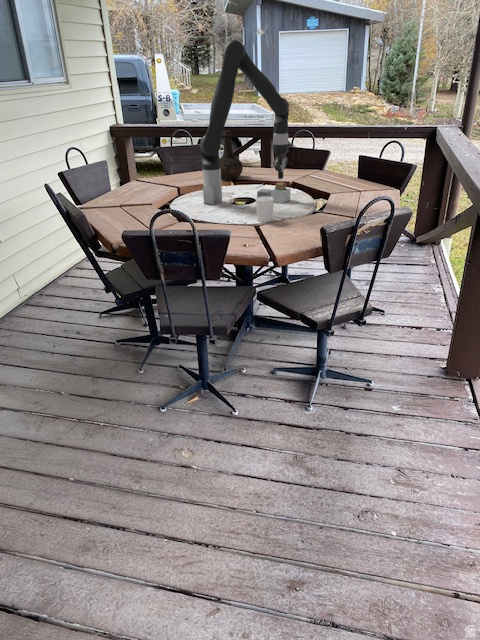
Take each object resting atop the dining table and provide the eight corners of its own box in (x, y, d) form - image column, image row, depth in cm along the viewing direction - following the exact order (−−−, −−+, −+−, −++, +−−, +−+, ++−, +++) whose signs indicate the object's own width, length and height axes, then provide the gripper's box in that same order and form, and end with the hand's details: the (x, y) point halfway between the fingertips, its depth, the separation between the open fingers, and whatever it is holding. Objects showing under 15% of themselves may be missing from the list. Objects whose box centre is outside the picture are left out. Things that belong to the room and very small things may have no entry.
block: (282, 202, 251) (282, 184, 246) (275, 201, 252) (275, 184, 248) (285, 200, 254) (285, 182, 249) (278, 199, 255) (278, 182, 251)
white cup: (252, 220, 225) (252, 199, 220) (264, 216, 229) (264, 195, 225) (265, 223, 220) (265, 201, 215) (276, 219, 224) (277, 198, 220)
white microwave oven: (283, 203, 248) (284, 191, 245) (270, 202, 252) (270, 189, 249) (290, 199, 254) (290, 187, 251) (277, 198, 258) (277, 186, 255)
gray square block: (267, 201, 253) (267, 192, 251) (257, 200, 256) (257, 191, 254) (272, 198, 258) (272, 189, 256) (262, 197, 261) (262, 188, 259)
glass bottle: (232, 173, 315) (230, 127, 302) (248, 178, 302) (247, 130, 289) (209, 178, 306) (206, 130, 293) (225, 183, 293) (223, 133, 280)
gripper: (281, 145, 233) (281, 182, 241) (293, 141, 243) (292, 176, 251) (267, 144, 236) (268, 180, 244) (279, 140, 246) (279, 175, 254)
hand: (280, 178), depth 248 cm, fingers closed
